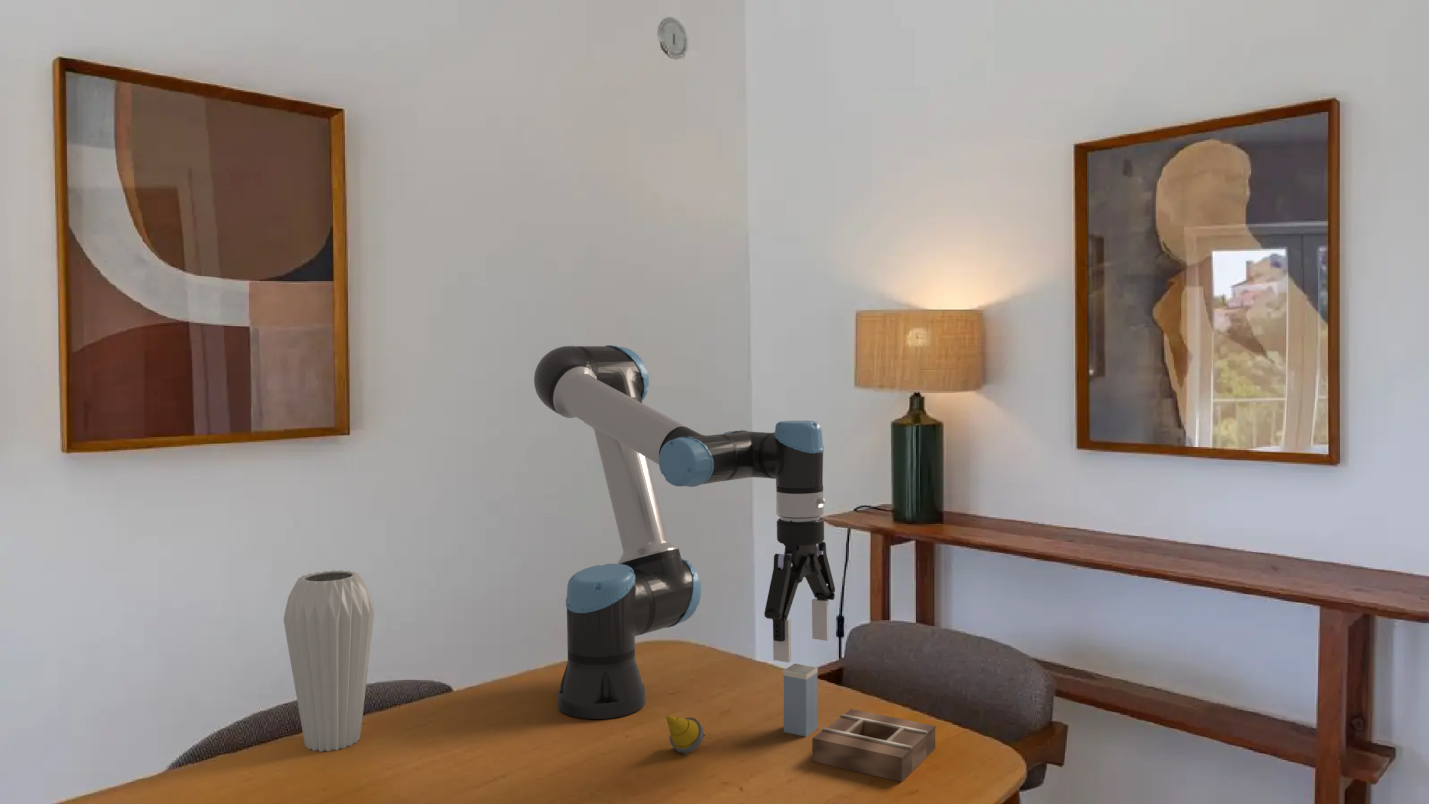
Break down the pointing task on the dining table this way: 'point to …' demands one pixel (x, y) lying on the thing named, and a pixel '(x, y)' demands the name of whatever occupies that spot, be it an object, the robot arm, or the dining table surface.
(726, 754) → the dining table surface
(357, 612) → the vase
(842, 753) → the socket block
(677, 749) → the yellow spinning top
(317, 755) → the dining table surface
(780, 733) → the dining table surface
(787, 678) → the peg
